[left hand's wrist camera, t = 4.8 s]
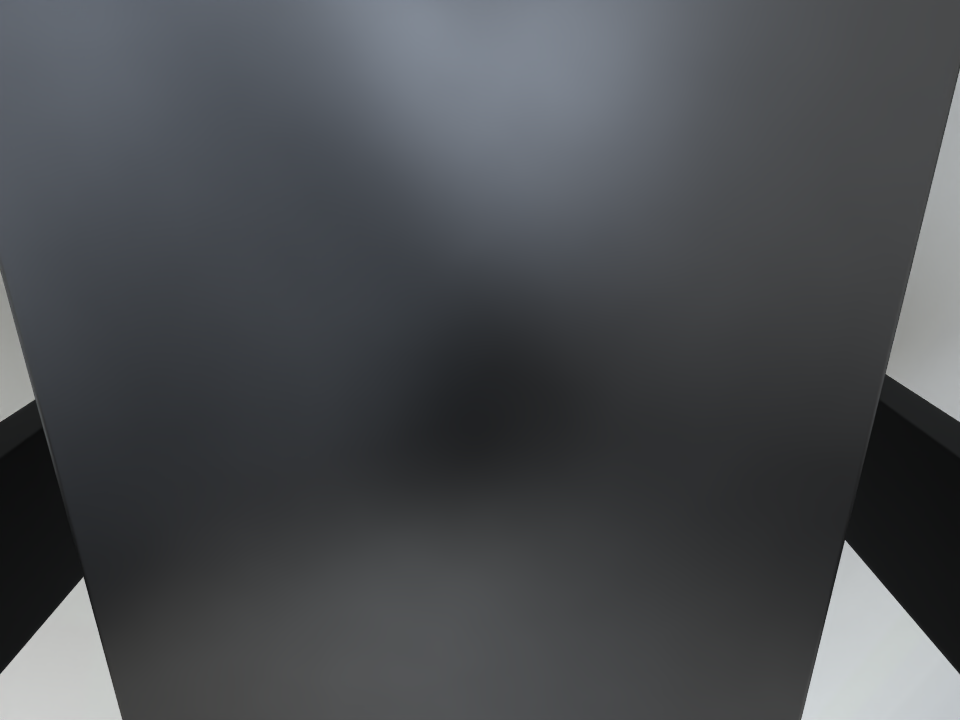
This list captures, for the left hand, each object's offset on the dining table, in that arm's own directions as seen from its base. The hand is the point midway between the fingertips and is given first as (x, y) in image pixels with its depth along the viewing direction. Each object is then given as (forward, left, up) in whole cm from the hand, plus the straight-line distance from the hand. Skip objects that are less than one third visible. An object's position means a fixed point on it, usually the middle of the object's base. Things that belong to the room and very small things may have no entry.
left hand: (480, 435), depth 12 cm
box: (+8, +5, -4) cm, 10 cm away
